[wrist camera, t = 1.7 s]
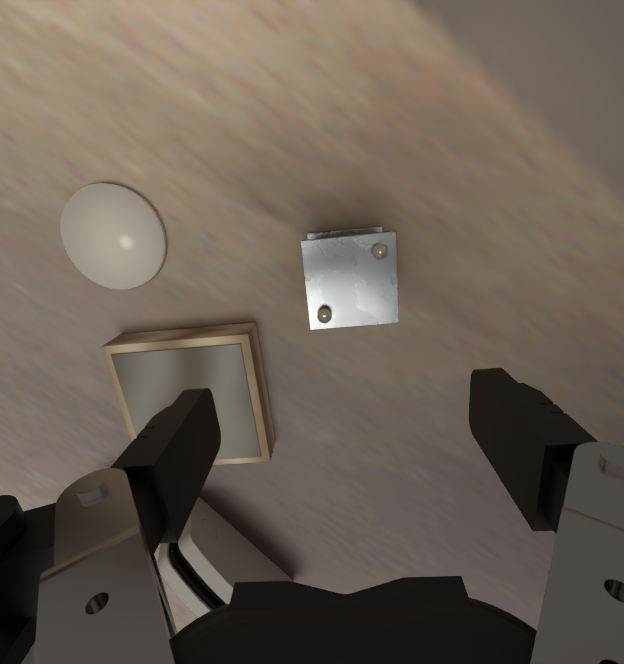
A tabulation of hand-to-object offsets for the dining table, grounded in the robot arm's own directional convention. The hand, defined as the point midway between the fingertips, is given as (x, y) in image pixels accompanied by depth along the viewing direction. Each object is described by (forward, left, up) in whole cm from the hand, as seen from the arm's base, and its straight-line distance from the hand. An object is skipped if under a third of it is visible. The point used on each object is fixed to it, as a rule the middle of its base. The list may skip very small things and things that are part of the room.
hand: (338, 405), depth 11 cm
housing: (-1, -1, -19) cm, 19 cm away
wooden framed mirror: (+13, +9, -19) cm, 24 cm away
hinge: (+13, +28, -19) cm, 36 cm away
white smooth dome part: (+17, -5, -19) cm, 26 cm away
